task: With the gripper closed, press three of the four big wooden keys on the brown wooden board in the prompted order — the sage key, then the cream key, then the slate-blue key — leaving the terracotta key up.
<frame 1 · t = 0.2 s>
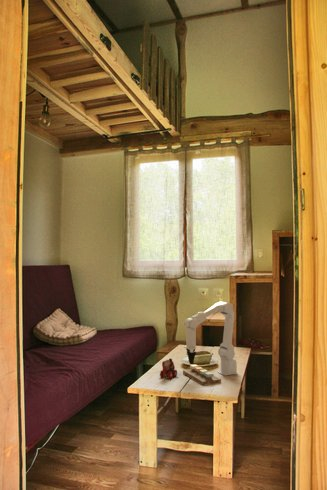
hand: (191, 362, 235), 10 cm above the table, tool pointing down, fingers open, 7 cm apart
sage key: (203, 373, 234), point 3 cm above the table, slide at 0.0 cm
brown wooden board: (201, 377, 236), on the table
cream key: (194, 368, 245), point 3 cm above the table, slide at 0.0 cm
dark red teddy bear: (168, 377, 238), on the table
terracotta key: (198, 370, 239), point 3 cm above the table, slide at 0.0 cm
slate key: (208, 376, 228), point 3 cm above the table, slide at 0.0 cm
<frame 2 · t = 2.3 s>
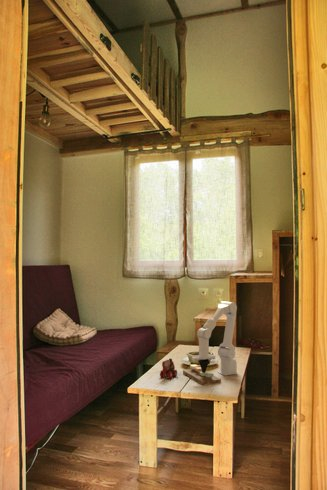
hand: (203, 372, 234), 4 cm above the table, tool pointing down, fingers closed, pressing on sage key
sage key: (203, 375, 234), point 2 cm above the table, slide at 1.0 cm, touching gripper
everything else where it was.
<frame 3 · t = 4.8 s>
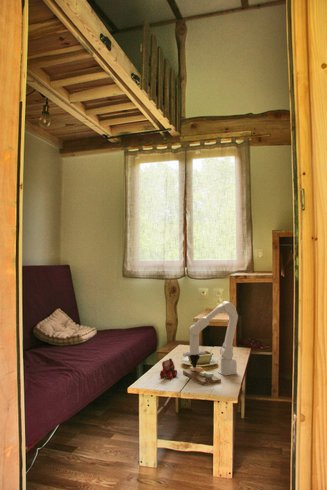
hand: (194, 367, 245), 4 cm above the table, tool pointing down, fingers closed, pressing on cream key
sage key: (203, 375, 234), point 2 cm above the table, slide at 1.0 cm
cream key: (194, 370, 245), point 2 cm above the table, slide at 1.0 cm, touching gripper
everything else where it was.
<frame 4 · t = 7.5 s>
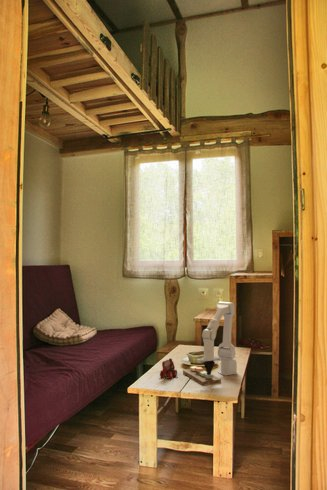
hand: (208, 374, 228), 4 cm above the table, tool pointing down, fingers closed, pressing on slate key
cream key: (194, 370, 245), point 2 cm above the table, slide at 1.0 cm
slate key: (208, 377, 228), point 3 cm above the table, slide at 0.6 cm, touching gripper
everything else where it was.
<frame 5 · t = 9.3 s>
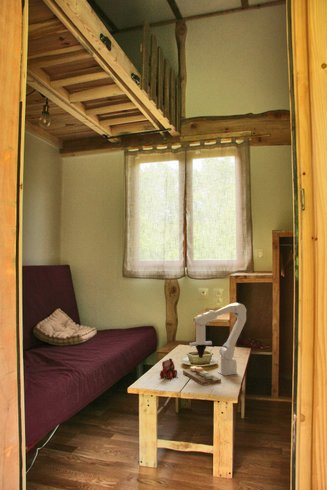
hand: (200, 357, 243), 10 cm above the table, tool pointing down, fingers closed
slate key: (208, 378, 228), point 2 cm above the table, slide at 1.0 cm
everything else where it was.
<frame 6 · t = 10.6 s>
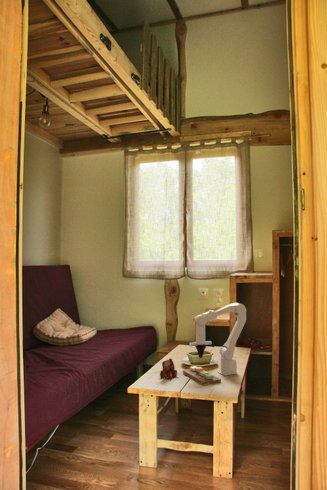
hand: (200, 357, 244), 10 cm above the table, tool pointing down, fingers closed
nothing on the table moved.
at the end: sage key slide at 1.0 cm; cream key slide at 1.0 cm; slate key slide at 1.0 cm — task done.
